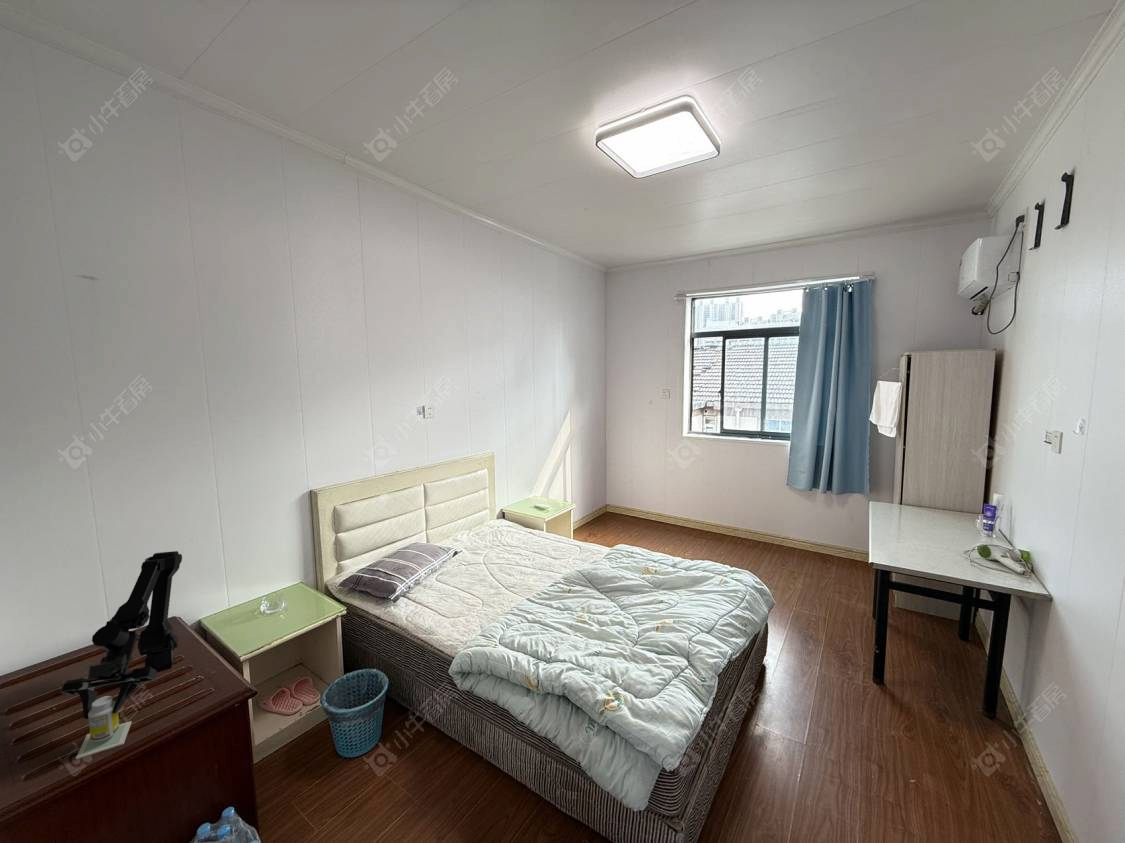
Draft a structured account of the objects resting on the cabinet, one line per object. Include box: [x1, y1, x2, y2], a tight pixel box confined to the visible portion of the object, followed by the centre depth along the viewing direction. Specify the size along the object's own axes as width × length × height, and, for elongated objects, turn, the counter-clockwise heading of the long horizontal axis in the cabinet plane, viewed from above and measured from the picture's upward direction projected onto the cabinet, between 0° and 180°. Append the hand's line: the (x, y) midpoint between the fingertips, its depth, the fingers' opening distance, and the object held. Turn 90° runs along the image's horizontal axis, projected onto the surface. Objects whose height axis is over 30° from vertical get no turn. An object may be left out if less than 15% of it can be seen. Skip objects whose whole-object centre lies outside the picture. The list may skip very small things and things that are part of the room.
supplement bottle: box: [88, 695, 120, 741], centre depth 120 cm, size 6×6×10 cm
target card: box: [75, 720, 132, 760], centre depth 121 cm, size 9×9×1 cm
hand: (100, 716), depth 119 cm, fingers closed on supplement bottle, 5 cm apart
